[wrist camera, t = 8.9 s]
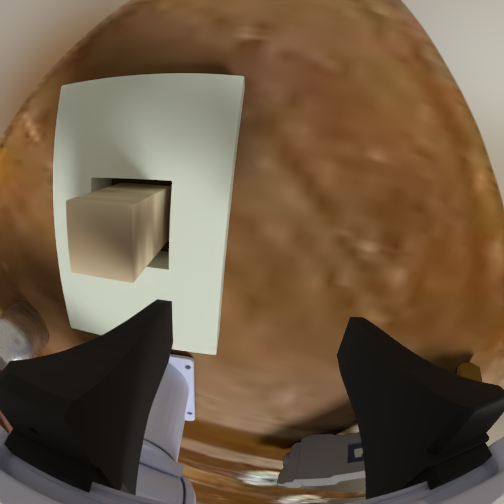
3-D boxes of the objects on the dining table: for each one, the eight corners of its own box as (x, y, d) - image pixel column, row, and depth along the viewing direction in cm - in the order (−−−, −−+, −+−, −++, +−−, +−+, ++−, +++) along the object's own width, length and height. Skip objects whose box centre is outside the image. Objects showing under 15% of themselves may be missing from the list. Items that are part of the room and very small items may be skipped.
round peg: (54, 351, 23) (28, 386, 18) (20, 338, 23) (-6, 368, 17) (41, 306, 21) (7, 339, 16) (7, 296, 21) (-26, 323, 15)
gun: (302, 386, 36) (271, 481, 24) (478, 352, 24) (497, 459, 12) (309, 398, 37) (281, 488, 24) (476, 367, 25) (489, 468, 13)
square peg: (169, 239, 19) (133, 283, 13) (121, 234, 19) (71, 272, 12) (172, 185, 18) (132, 204, 11) (121, 182, 18) (65, 200, 11)
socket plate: (219, 331, 22) (216, 355, 19) (86, 309, 21) (71, 327, 18) (244, 88, 16) (244, 76, 13) (83, 91, 15) (61, 85, 12)
